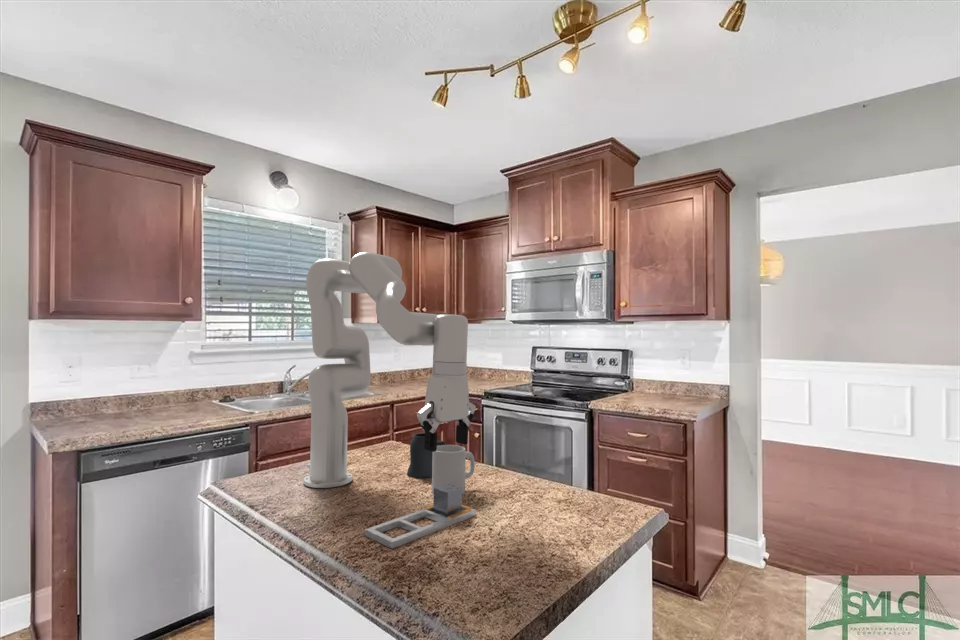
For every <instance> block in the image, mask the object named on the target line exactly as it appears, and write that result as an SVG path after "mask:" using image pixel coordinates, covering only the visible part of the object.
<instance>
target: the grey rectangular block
mask: <svg viewBox="0 0 960 640" xmlns="http://www.w3.org/2000/svg"><path fill="white" fill-rule="evenodd" d="M462 499H463V494H462V488H460V487H456V486H453V485H450V484H446V485H443V486H440V487H437V488H434V494H433V503H432V505H433V512H434V513H437V514H440V515H442V516H445V517H448V516H450V515H453V514H455V513H458V512H461V511H462V505H463V503H462V502H463V500H462Z"/></svg>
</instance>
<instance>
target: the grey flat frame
mask: <svg viewBox="0 0 960 640" xmlns="http://www.w3.org/2000/svg"><path fill="white" fill-rule="evenodd" d="M474 516H476V509H474V508H472V507H471V506H468V505H465V504H462V511H461V512H458V513H455V514H453V515H450V516H448V517H445V516H442V515H440V514H437V513H434V512H433V504H432V505H430V506H429V505H428V506H427V507H424V508H423V509H420V510H417V511H415V512H412V513H407V514H406V515H402V516H400V517H397V518H394V519H392V520H389V521H385V522H382V523H379V524H377V525H374V526H371V527H368V528H365V529H364V537H366V538H369V539H371V540H373V541H375V542H376V543H379V544H381V545H383V546H386V547H388V548H389V549H392V550H393V549H395V548H397V547H401V546H403V545H406V544H408V543H410V542H412V541H415V540H417V539H420V538H422V537H425V536H427V535H430V534H432V533H435V532H437V531H439V530H442V529H445V528H447V527H450V526H452V525H454V524H456V523H460V522H462V521H464V520H467V519H469V518H471V517H474ZM423 518H426V519H429V520H432V521H433V523H429V524H428V525H424V526H420V525H417V524H415V523H412V522H414V521H417V520H420V519H423ZM396 528H400V529H404V530H406V531H408V532H407V533H404V534H402V535H399V536H396V537H394V538H393V537H392V536H389V535H388V534H385V533H384V532H387V531H390V530H392V529H396Z"/></svg>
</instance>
